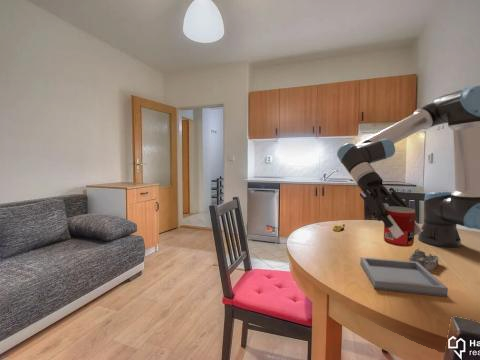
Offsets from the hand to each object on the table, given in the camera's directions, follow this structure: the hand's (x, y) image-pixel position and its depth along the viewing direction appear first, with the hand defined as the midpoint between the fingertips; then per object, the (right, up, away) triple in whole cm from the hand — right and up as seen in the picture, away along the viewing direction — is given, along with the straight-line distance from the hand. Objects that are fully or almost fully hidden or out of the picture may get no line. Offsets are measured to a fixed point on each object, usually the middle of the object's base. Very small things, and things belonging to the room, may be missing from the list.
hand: (409, 234), depth 73 cm
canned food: (-1, -4, +3) cm, 5 cm away
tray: (-1, -15, +4) cm, 15 cm away
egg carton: (+15, -14, +14) cm, 26 cm away
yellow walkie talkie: (+5, -11, +63) cm, 64 cm away
